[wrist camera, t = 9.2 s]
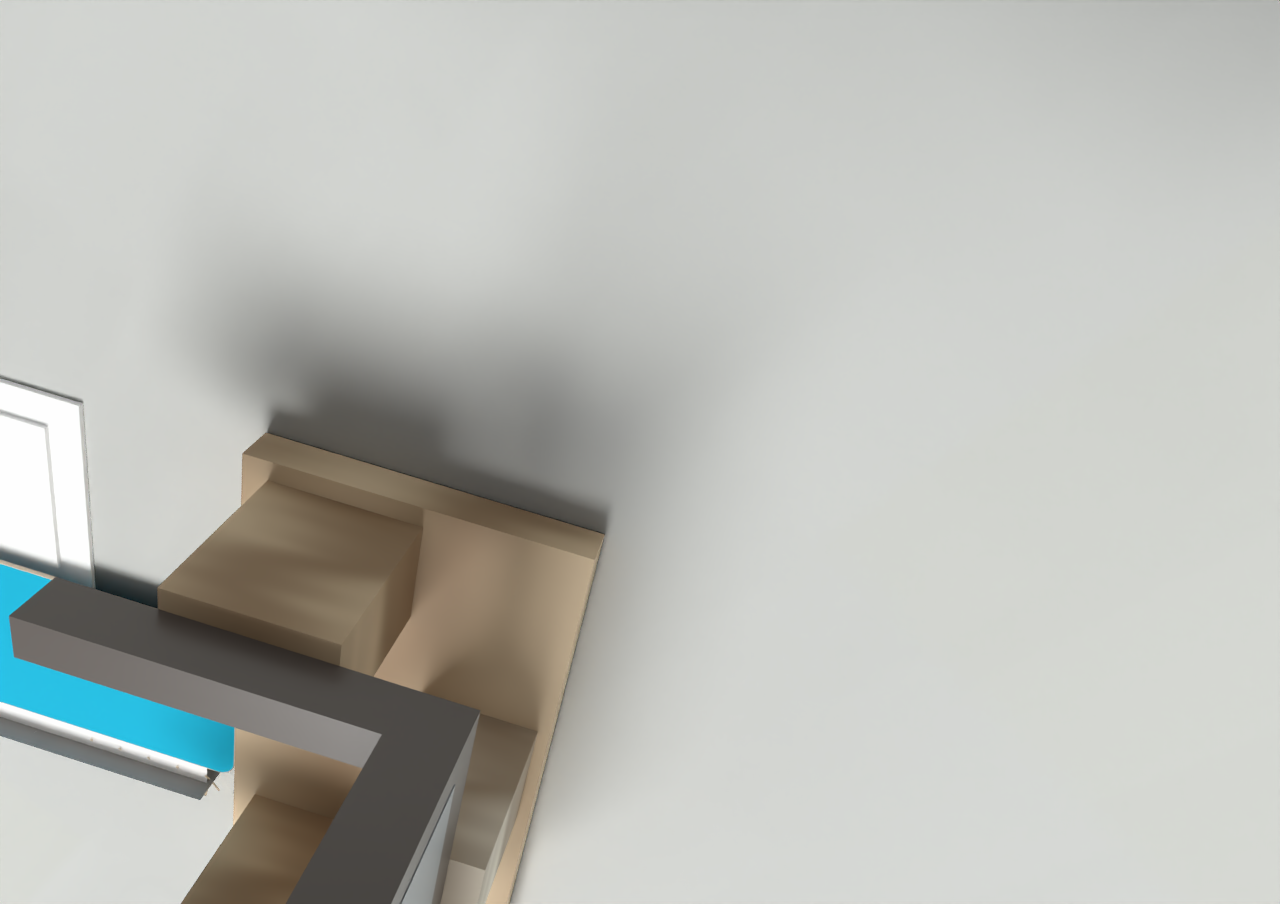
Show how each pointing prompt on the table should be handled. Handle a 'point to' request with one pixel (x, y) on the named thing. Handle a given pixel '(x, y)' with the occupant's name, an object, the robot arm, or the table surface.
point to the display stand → (388, 646)
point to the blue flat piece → (62, 547)
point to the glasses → (284, 729)
